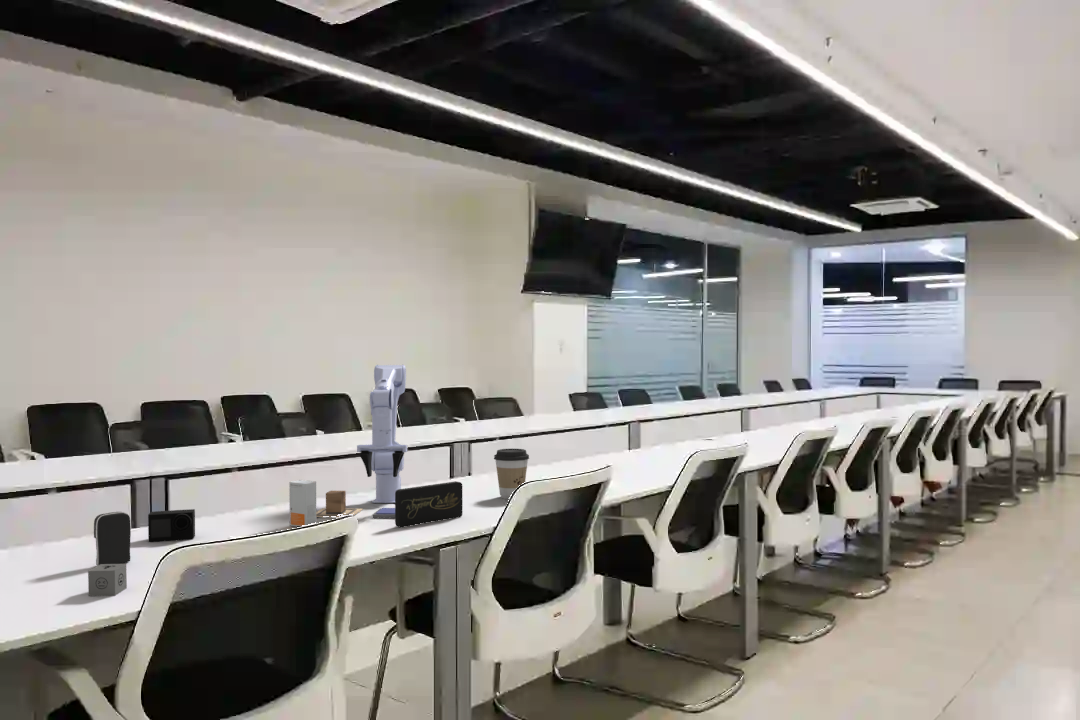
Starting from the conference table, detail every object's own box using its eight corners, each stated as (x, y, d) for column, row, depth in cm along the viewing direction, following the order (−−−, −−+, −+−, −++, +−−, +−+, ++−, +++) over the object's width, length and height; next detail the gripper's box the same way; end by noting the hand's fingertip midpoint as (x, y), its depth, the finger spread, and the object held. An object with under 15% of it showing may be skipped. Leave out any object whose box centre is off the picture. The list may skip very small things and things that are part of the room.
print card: (322, 509, 243) (322, 507, 242) (362, 509, 242) (362, 508, 242) (308, 518, 231) (308, 516, 231) (350, 518, 230) (350, 516, 230)
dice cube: (126, 588, 164) (126, 563, 164) (115, 596, 159) (114, 570, 159) (100, 589, 164) (100, 564, 164) (88, 596, 159) (88, 571, 159)
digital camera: (147, 543, 201) (146, 515, 201) (150, 538, 207) (150, 511, 206) (192, 540, 204) (192, 512, 204) (195, 535, 210) (194, 508, 209)
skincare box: (288, 526, 220) (288, 481, 220) (300, 523, 224) (300, 479, 224) (305, 528, 217) (305, 483, 217) (317, 525, 221) (316, 481, 221)
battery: (125, 559, 186) (124, 509, 186) (131, 562, 184) (131, 511, 183) (92, 565, 181) (91, 513, 181) (98, 568, 178) (97, 516, 178)
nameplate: (399, 528, 218) (398, 490, 217) (395, 527, 219) (395, 489, 219) (462, 517, 232) (462, 481, 232) (458, 516, 233) (458, 480, 233)
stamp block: (330, 511, 238) (330, 490, 238) (345, 511, 238) (345, 490, 238) (325, 514, 234) (325, 493, 234) (341, 514, 233) (340, 493, 233)
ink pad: (380, 511, 239) (380, 507, 239) (411, 512, 238) (411, 507, 238) (372, 518, 230) (372, 513, 230) (403, 518, 229) (403, 513, 229)
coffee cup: (514, 502, 253) (514, 453, 253) (486, 498, 260) (486, 450, 260) (536, 496, 262) (536, 449, 262) (509, 492, 269) (509, 447, 269)
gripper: (353, 431, 237) (354, 478, 238) (403, 431, 237) (403, 478, 237) (360, 429, 245) (361, 474, 245) (408, 429, 244) (409, 474, 244)
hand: (382, 476), depth 241 cm, fingers open, 7 cm apart
